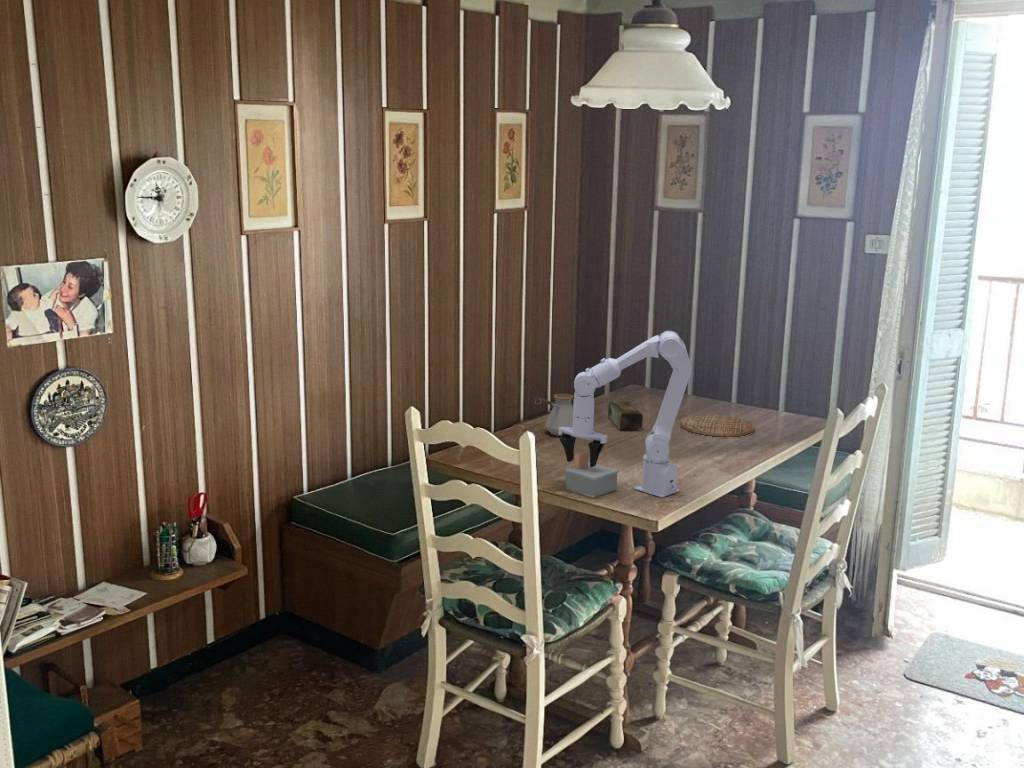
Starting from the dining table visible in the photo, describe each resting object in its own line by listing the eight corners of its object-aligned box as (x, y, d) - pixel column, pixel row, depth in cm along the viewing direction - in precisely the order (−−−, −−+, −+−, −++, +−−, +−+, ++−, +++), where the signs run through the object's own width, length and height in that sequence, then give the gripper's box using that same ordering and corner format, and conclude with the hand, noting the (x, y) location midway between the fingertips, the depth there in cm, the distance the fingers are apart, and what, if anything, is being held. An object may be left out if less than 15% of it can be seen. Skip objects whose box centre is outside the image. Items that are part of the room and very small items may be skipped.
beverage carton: (629, 417, 358) (630, 399, 357) (642, 432, 340) (643, 413, 338) (607, 417, 357) (608, 399, 356) (619, 432, 339) (620, 413, 337)
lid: (618, 472, 278) (619, 456, 277) (594, 480, 270) (594, 463, 269) (589, 464, 285) (590, 448, 284) (565, 471, 278) (565, 455, 277)
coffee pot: (556, 427, 342) (558, 384, 339) (586, 433, 336) (587, 389, 332) (521, 440, 325) (522, 395, 322) (551, 447, 319) (552, 401, 315)
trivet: (752, 442, 331) (752, 436, 331) (675, 434, 338) (676, 429, 337) (755, 423, 355) (756, 418, 354) (684, 417, 361) (684, 412, 361)
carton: (616, 490, 279) (617, 472, 278) (593, 498, 272) (593, 480, 271) (588, 481, 286) (589, 464, 285) (565, 489, 279) (566, 471, 278)
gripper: (613, 417, 276) (611, 465, 279) (568, 409, 284) (567, 455, 287) (600, 422, 270) (598, 471, 273) (555, 413, 278) (553, 461, 282)
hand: (581, 463), depth 280 cm, fingers open, 7 cm apart
